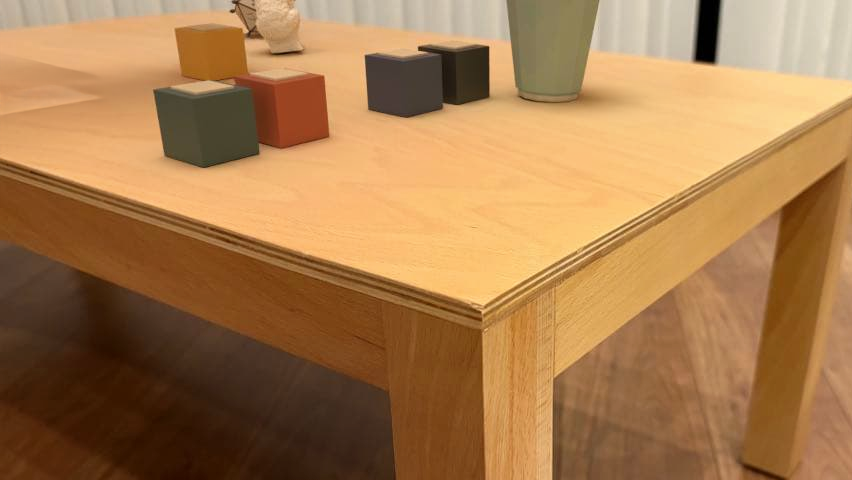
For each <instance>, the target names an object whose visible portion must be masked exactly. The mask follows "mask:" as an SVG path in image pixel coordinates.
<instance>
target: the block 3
mask: <svg viewBox="0 0 852 480" xmlns="http://www.w3.org/2000/svg"><path fill="white" fill-rule="evenodd" d="M364 67H365V68H364V69H365V82H366V83H365V84H366V97H367V98H366V99H367V109H368V110H369V111H373V112H374V111H375V112H379V113H385V114H388V115H393V116H399V117H403V118H409V117H413V116H418V115H421V114H425V113H430V112H433V111H438V110H442V109H444V102H443V90H442V55H441V54H434V53H428V52H422V51H418V50H415V49H409V48H397V49H391V50H386V51H385V50H384V51H381V52H379V51H378V52H374V53H368V54H364Z"/></svg>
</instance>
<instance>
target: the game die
mask: <svg viewBox="0 0 852 480" xmlns="http://www.w3.org/2000/svg"><path fill="white" fill-rule="evenodd" d="M295 1H296V0H294V2H295ZM230 2H231V3H232V4H233V5H235V6H234V9H233V8H232V9H230V10H229V11H228V13H231V14H236V15H237V17H238V18H239V20H240V21H241V22H242V24H243V25H244V27H245V28H246V30H247V31H248V32H247V33H246V39H247V38H250V37H251V36H252V34H253V33H256V34H257V33H259V31H258V30H257V26H256V20H257V15H256V7H255V2H254V0H231V1H230Z"/></svg>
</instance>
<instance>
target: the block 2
mask: <svg viewBox="0 0 852 480" xmlns="http://www.w3.org/2000/svg"><path fill="white" fill-rule="evenodd" d="M234 85H238V86H242V87H247V88H251V89H252V94H253V102H254V110H255V118H256V127H257V135H258V143H260V144H265V145H268V146H272V147H276V148H280V149H283V148H288V147H292V146H296V145H300V144H304V143H308V142H312V141H316V140H321V139H324V138H328V137H330V127H329V126H330V125H329V114H328V113H329V112H328V102H327V91H326V79H325V75H324V74H318V73H312V72H308V71H303V70H297V69H291V68H286V67H281V68H276V69H269V70H263V71H256V72H250V73H248V74H245V75H239V76H234Z"/></svg>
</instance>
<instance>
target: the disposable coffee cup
mask: <svg viewBox="0 0 852 480" xmlns="http://www.w3.org/2000/svg"><path fill="white" fill-rule="evenodd" d="M600 1H601V0H505V2H506V9H507V17H508V18H507V19H508V29H509V38H510V39H509V40H510V46H511V56H512V65H513V75H514V85H515V88H516V89H517V93H518V96H520V97H521V98H523V99H526V100H532V101H535V102H548V103H560V102H571V101H575V100H577V99H578V97H579V93H581V92H582V88H583V82H584V78H585V73H586V68H587V65H588V64H587V63H588V58H589V54H590V49H591V44H592V39H593V34H594V30H595V25H596V20H597V16H598V10H599V5H600Z"/></svg>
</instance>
